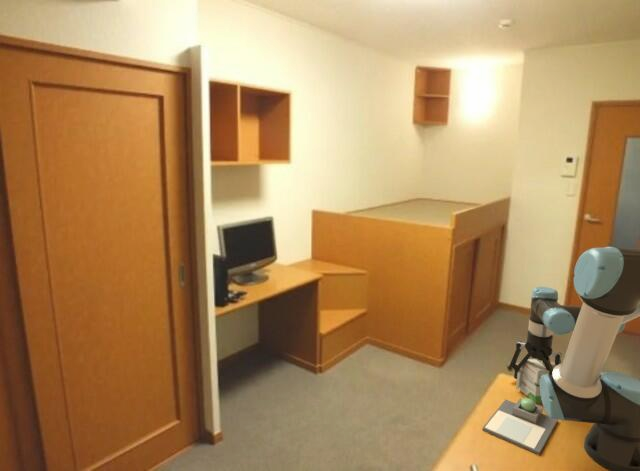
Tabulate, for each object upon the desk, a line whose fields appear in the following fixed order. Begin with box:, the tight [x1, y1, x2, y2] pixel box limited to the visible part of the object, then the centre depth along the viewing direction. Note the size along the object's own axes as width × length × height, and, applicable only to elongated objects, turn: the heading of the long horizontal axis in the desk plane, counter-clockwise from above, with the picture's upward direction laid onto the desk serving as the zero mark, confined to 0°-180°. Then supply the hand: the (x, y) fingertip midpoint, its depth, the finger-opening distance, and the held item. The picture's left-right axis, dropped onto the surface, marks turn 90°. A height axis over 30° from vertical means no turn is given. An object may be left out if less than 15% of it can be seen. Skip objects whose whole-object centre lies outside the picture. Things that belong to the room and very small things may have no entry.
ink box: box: [519, 358, 549, 404], centre depth 146 cm, size 9×5×12 cm, turn 8°
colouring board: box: [482, 398, 558, 456], centre depth 131 cm, size 16×20×3 cm
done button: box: [521, 397, 537, 413], centre depth 136 cm, size 4×4×3 cm
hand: (533, 393), depth 148 cm, fingers closed on ink box, 9 cm apart
